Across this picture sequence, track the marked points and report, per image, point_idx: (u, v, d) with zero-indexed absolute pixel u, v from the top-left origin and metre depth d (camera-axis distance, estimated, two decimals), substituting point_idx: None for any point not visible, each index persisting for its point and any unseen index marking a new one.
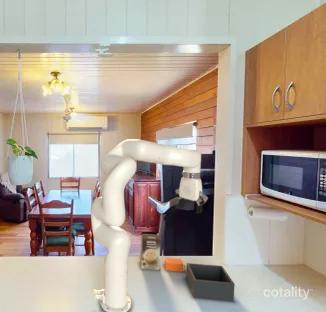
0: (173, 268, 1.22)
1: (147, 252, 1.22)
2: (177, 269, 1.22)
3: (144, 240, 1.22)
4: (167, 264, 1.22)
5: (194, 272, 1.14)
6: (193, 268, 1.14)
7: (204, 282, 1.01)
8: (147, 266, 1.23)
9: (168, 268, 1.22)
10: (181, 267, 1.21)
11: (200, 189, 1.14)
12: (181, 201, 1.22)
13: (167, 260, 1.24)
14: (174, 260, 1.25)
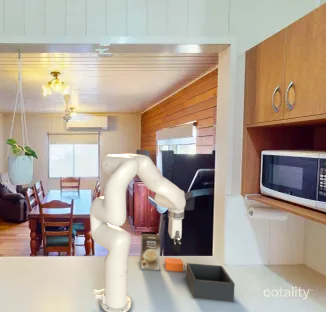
0: (173, 268, 1.22)
1: (147, 252, 1.22)
2: (177, 269, 1.22)
3: (144, 240, 1.22)
4: (167, 264, 1.22)
5: (194, 272, 1.14)
6: (193, 268, 1.14)
7: (204, 282, 1.01)
8: (147, 266, 1.23)
9: (168, 268, 1.22)
10: (181, 267, 1.21)
11: (177, 229, 1.17)
12: None
13: (167, 260, 1.24)
14: (174, 260, 1.25)
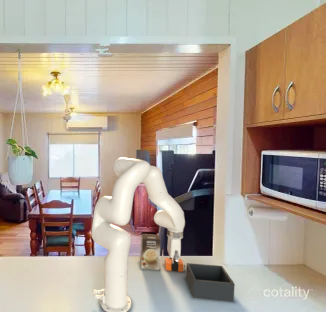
0: None
1: (147, 252, 1.22)
2: None
3: (144, 240, 1.22)
4: (167, 264, 1.22)
5: (194, 272, 1.14)
6: (193, 268, 1.14)
7: (204, 282, 1.01)
8: (147, 266, 1.23)
9: (168, 268, 1.22)
10: (181, 267, 1.21)
11: (176, 248, 1.18)
12: None
13: (167, 260, 1.24)
14: None
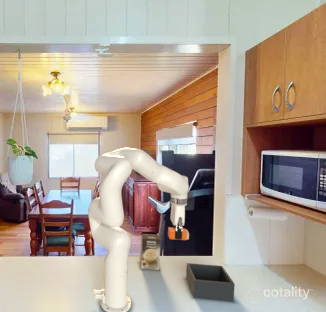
0: None
1: (147, 252, 1.22)
2: None
3: (144, 240, 1.22)
4: (170, 232, 1.19)
5: (194, 272, 1.14)
6: (193, 268, 1.14)
7: (204, 282, 1.01)
8: (147, 266, 1.23)
9: (171, 237, 1.19)
10: (185, 236, 1.18)
11: (180, 215, 1.15)
12: None
13: (170, 229, 1.21)
14: None
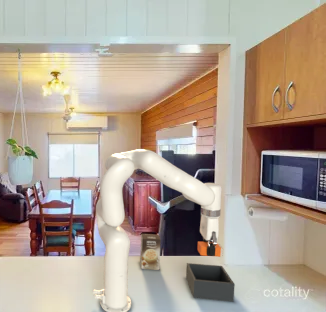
0: None
1: (147, 252, 1.22)
2: None
3: (144, 240, 1.22)
4: (202, 248, 1.05)
5: (194, 272, 1.14)
6: (193, 268, 1.14)
7: (204, 282, 1.01)
8: (147, 266, 1.23)
9: (203, 253, 1.05)
10: (218, 252, 1.04)
11: (214, 229, 1.01)
12: None
13: (201, 244, 1.07)
14: None
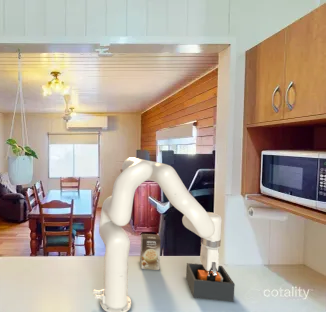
0: None
1: (147, 252, 1.22)
2: None
3: (144, 240, 1.22)
4: (202, 278, 1.05)
5: (194, 272, 1.14)
6: (193, 268, 1.14)
7: (204, 282, 1.01)
8: (147, 266, 1.23)
9: None
10: None
11: (214, 260, 1.01)
12: None
13: (201, 273, 1.07)
14: None
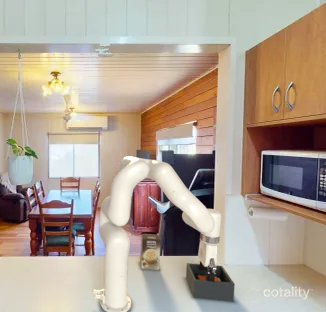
0: None
1: (147, 252, 1.22)
2: None
3: (144, 240, 1.22)
4: None
5: (194, 272, 1.14)
6: (193, 268, 1.14)
7: (204, 282, 1.01)
8: (147, 266, 1.23)
9: None
10: None
11: (212, 256, 1.01)
12: (201, 263, 1.11)
13: (201, 278, 1.08)
14: None
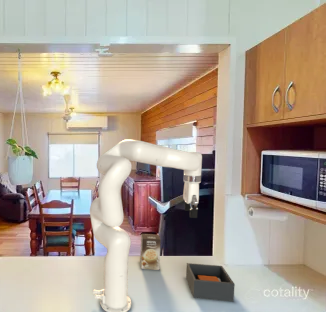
0: None
1: (147, 252, 1.22)
2: None
3: (144, 240, 1.22)
4: None
5: (194, 272, 1.14)
6: (193, 268, 1.14)
7: (204, 282, 1.01)
8: (147, 266, 1.23)
9: None
10: None
11: (194, 193, 1.10)
12: (186, 204, 1.21)
13: (201, 278, 1.08)
14: (208, 278, 1.08)
